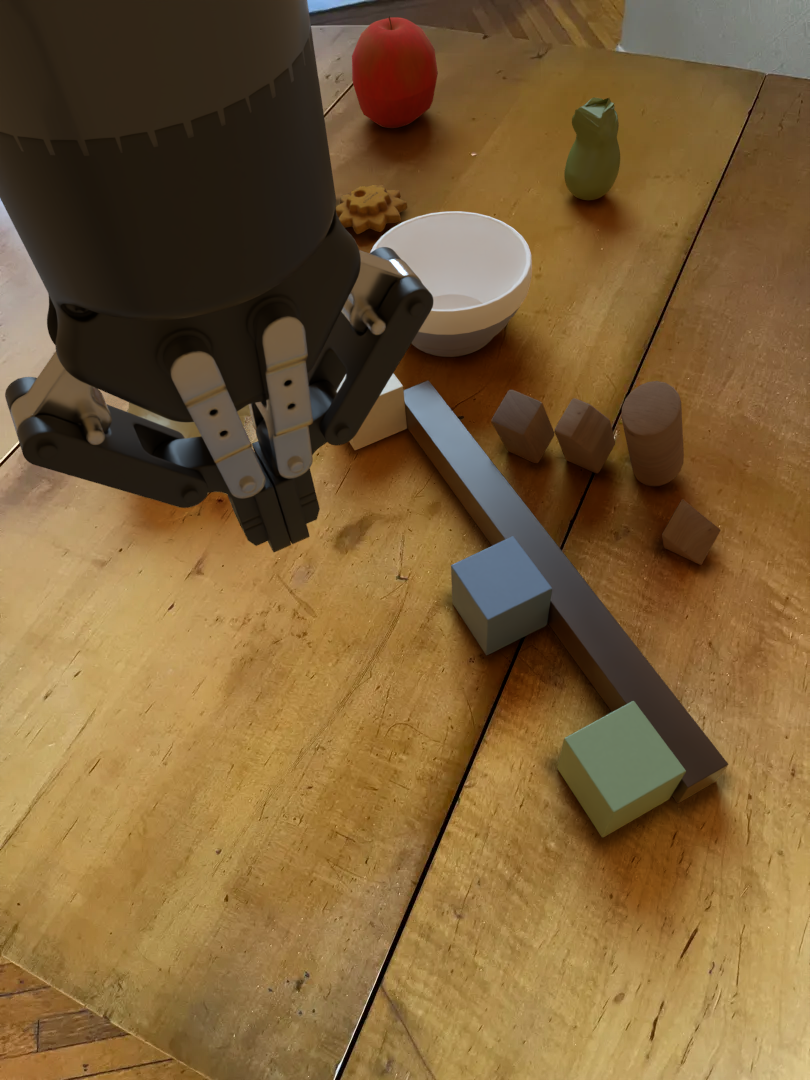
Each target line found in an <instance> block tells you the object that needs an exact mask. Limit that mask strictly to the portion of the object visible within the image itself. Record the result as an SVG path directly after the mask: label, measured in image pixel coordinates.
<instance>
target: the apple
mask: <svg viewBox="0 0 810 1080" xmlns="http://www.w3.org/2000/svg"><path fill="white" fill-rule="evenodd" d="M438 74H439V72H438V64H437V57H436V50H435V47H434V45H433V44H432V42H431V40H430V39H429V37H428V36H427V34H426V33H425V31H424V30H423V28H422V27H420V26H419V25H417V24H416V23H414V22H412V21H411V20H409V19H407V18H403V17H400V16H399V17H398V16H397V17H396V16H395V17H393V16H392V17H391V16H390V15H389V16H388V17H387V18H382V19H379V20H377V21H374V22H372V23H370V24H369V25H368V26H367V27H366V28H365V29H364V30H363V31H362V32H361V33H360V35H359V38H358V40H357V42H356V45H355V46H354V49H353V52H352V55H351V75H352V76H351V79H352V80H351V81H352V84H353V88H354V92H355V95H356V98H357V101H358V105H359V108H360V110H361V112H362V114H363V116H365V117H366V118H368V119H369V120H371V122H374V123H376V124H377V125H379V126H380V127H382V128H388V129H397V128H401V127H405V126H408V125H409V124H412V123H413V122H414V121H416V120H417V119H418V118H419V117H421V116H422V115H423V114H424V113H426V112H427V111H428V110H429V109H430V108H431V107H432V105H433V101H434V97H435V93H436V92H435V91H436V87H437V86H436V85H437V80H438Z"/></svg>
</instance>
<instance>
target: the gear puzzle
mask: <svg viewBox="0 0 810 1080" xmlns="http://www.w3.org/2000/svg"><path fill="white" fill-rule="evenodd" d="M401 196H402V195H401V191H400V190H399V189H386V187H384V185H382V184H378V185H376V184H372V185H369V186H365V185H361V186H358V187H357V188H355V189H354V190H353V189H352V190H351V191H350V193H347V194H343V195H340V196H339V202H340V203H339V204H336V212H337V216H338V218H339V220H340V222H341V224H342V225H343V226H344V228H345V229H346V228H353V231H354V233H355V234H356V235H360V234H361V233H364V232H365V231H367V230H369V229H371V230H373V231H375V232H377V233H378V232H379V233H380V232H383V231H384V230H385V228H386V224H396V223H400V222H401V219H402V218H401V214H400V213H402V212H404V211H406V210H407V209H408V203H407V201H406V200H405V199H401Z"/></svg>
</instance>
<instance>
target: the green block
mask: <svg viewBox="0 0 810 1080" xmlns="http://www.w3.org/2000/svg"><path fill="white" fill-rule="evenodd" d="M556 768H557V770H558V772H559V774H560V775H561V776H562V778H563V780H564V781H565V783H566V785H567V786H568V787H569V790H571V792H572V793H573V795H574V797H575V798H576V800H577V801H578V803H579V804H580V806H581V807H582V809H583V810H584V812H585V813H586V816H587V817H588V818H589V820H590V821H591V823H592V825H593V826H594V827H595V829H596V831H597V833H598V834H599V835H600V837H601V838H606V837H607V836H609V835H611V834H612V833H614V832H615V831H617V830H619V829H620V828H622V827H624V826H626V825H627V824H629V823H631V822H633V821H635V820H636V819H638V818H639V817H641V816H643V815H644V814H647V813H648V812H650V811H651V810H654V809H655V808H657V807H658V806H661V805H662V804H664V803H666V802H667V801H669V800H670V799H671V797H672V793H673V792H674V790H675V789H676V787H677V785H678V784H679V782H680V781H681V779H682V777H683V776H684V774H685V773H686V770H685V769H684V768H683V766H682V765H681V764H680V762H679V761H678V759H677V758H676V757H675V755H674V754H673V753H672V751H671V750H670V749H669V747H668V746H667V745H666V743H665V742H664V741H663V739H662V738H661V737H660V735H659V734H658V733H657V731H656V730H655V729H654V727H653V726H652V725H651V723H650V722H649V721H648V719H647V718H646V716H645V715H644V714H643V712H642V711H641V710H640V708H639V707H638V706H637V704H636V703H635V702H634V701H632V702H630V703H628V704H626V705H624V706H622V707H621V708H619V709H617V710H615V711H613V712H611V711H610V712H609V713H607V714H606V715H604V716H602V717H601V718H599V719H597V720H595V721H593V722H591V723H589V724H587V725H586V726H583V727H582V728H580V729H578V730H577V731H574V732H573V733H571V734H569V735H566V736H565V737H563V741H562V745H561V750H560V754H559V757H558V762H557V766H556Z"/></svg>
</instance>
